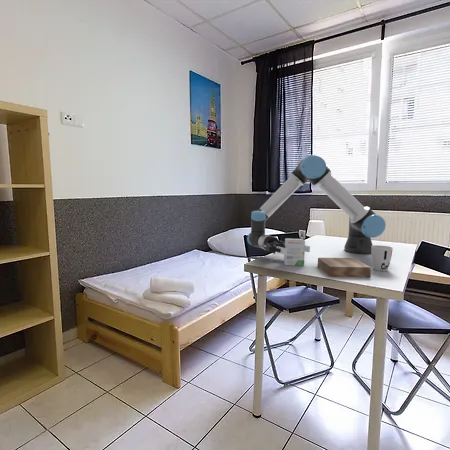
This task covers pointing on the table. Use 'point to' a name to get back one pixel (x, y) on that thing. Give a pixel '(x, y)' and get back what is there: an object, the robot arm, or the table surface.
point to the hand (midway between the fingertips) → (298, 250)
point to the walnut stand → (344, 267)
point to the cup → (381, 257)
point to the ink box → (294, 252)
